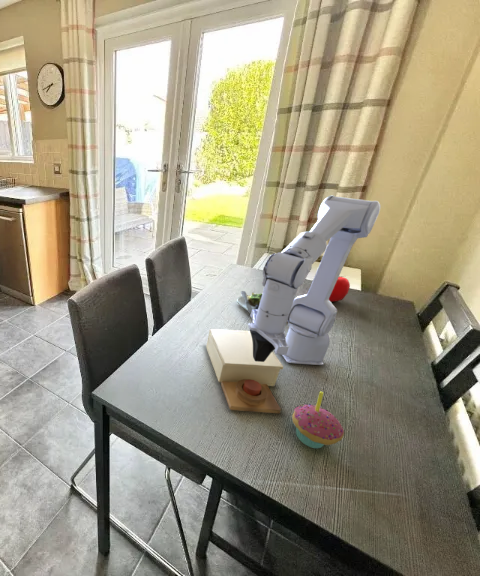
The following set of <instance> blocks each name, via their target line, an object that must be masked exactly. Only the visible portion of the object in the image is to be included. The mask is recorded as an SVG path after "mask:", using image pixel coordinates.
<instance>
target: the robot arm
mask: <svg viewBox="0 0 480 576" xmlns="http://www.w3.org/2000/svg"><path fill="white" fill-rule="evenodd" d="M380 212H381V204H380V201H378V200H366V199H358V198H352V197H351V198H350V197H342V196H335V195H332V194H330V195H328V196H327V197H326V198H324V199H323V201H322V202H321V203H320V206H319V208H318V212H317V221H316V222H315V224H313V226H312V227H311V229H310V230H309V231H303V232H300V233H299V234H298V235H297V236H296V237H295V238H294V239H293V240H292V241H291V242H290V243H289V244H288V245H287V246H286V247H285V248H284V249H283V250H282V251H279V252H276V253H275V252H274V253H271V254H270V255H269V256H268V258H267V259H266V262H265V263H264V266H263V268H262V281H261V284H262V286H263V289H262V293H261V294H262V297H261V301H260V304H259V308H258V310H256V309H252V312H251V314H250V318H251V319H252V322H249V323H248V325H247V327H248V328H249V331H250V333H251V336H252V341H253V358H254V360H255V361H258V362H264V361H265V360H266V359H267V357H268V356H269V355H270V354H271V352H272V351H273V352H274V354H275V355H278V356H279V355H281V356H282V357H283V358H284V360H285V361H286V363H288V364H296V365H297V364H298V365H316V366H324V362H323V360H324V358H325V356H326V354H327V352H328V349H329V347H330V335H329V333H330V331H331V329H332V328H333V326H334V324H335V321H336V317H337V314H338V309H337V308H336V307H335V305H334V304H333V303H332V302H331V301H330V300H329V297H330V295H331V293H332V291H333V288H334V286H335V284H336V282H337V279H338V277H339V276H340V275H341V273H342V270H343V268H344V266H345V264H346V261H347V259H348V257H349V255H350V252H351V250H352V248H353V245H354V244H355V243H356V241H357V240H358V239H362V238H363V239H364V238H368V236H369V234H371V232H372V229H373V227H374V225H375V222H376V221H377V219H378V217H379V214H380ZM327 242H328V243H327ZM321 256H322V258H321V260H320V262H319V265H318V267H317V269H316V272H315V274H314V276H313V279H312V282H311V284H310V286H309V288H308V291H307V293H306V294H301V295H298V296H296V295H297V292H298V288H299V287H301V286H302V285H303V284H304V282H305V281H306V279H307V277H308V275H309V273H310V272H311V270H312V269H313V268H312V267H313V264H314V263H315V262H316V261H317V260H318V259H319V258H320V257H321ZM286 325H287V327H288V330H287V332H286V330H285V329H286Z"/></svg>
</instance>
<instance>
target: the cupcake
mask: <svg viewBox="0 0 480 576" xmlns="http://www.w3.org/2000/svg"><path fill="white" fill-rule="evenodd" d="M323 397H324V391H323V387H321V389H320V391H319V392H318V396H317V401H316V404H315V405H314V404H311V403H305V404H304V403H303V404H300V405H297V406H296V407H294V409H293V410H294V411H293V413H292V416H291V417H292V423H293V425H294V426H295V434H296V437H297V438H298V440H299V441H301V443H302V444H304V445H305V446H307V447H309V448H311V449H312V448H313V449H321V448H322V447H324V446H331V445H335V444H337V443H338V442H341V441H342V439H344V436H345V430H344V426H343V424H341V422H340V421H339V419H338V418H337V417H336V416H335V415H334V413H332V412H330V411H329V410H328V409H325V408H323V407H321V405H322V402H323Z"/></svg>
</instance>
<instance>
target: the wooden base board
mask: <svg viewBox="0 0 480 576" xmlns="http://www.w3.org/2000/svg"><path fill="white" fill-rule="evenodd" d="M246 380H248V379H242V380H240V381H238V382H226V381H222V382H220V386H221V389H222V392H223V395H224V397H225V400H226V403H227V405H228V408H229V410H230V411H241V412H255V413H268V414H281V412H282V408H281V407H280V405H279V403H278V402H277V399H276V398H275V395H274V394H273V392H272V390H271V389H270V386H268V385H267V384H260V385H261V391H260V394H259V395H257V396H252V395H249V394H247V393H246V392H245V391H244V390H243V386H244V382H245V381H246Z"/></svg>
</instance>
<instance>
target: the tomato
mask: <svg viewBox="0 0 480 576" xmlns="http://www.w3.org/2000/svg"><path fill="white" fill-rule="evenodd" d="M350 288H351V283H350V281H349V279H347V278H346V277H345V275H343V276H340V275H339V277H338V279H337V282H336V284H335V286H334V288H333V291H332V293H331V295H330V297H329V300H330V302H331V303H332V302H339V301H342V300H343V299H345V297H347V295H348V294H349V291H350Z"/></svg>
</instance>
